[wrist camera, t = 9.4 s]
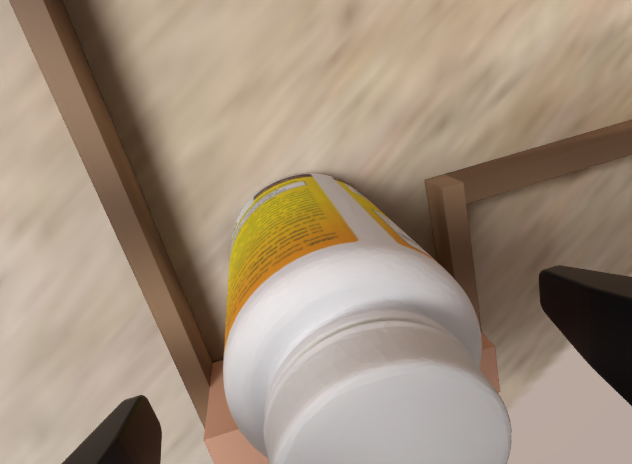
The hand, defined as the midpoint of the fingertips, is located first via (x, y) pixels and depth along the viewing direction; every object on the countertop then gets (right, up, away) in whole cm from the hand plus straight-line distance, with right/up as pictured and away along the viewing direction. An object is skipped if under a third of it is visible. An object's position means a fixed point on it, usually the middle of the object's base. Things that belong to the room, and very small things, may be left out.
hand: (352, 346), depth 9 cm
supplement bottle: (-1, +2, +7) cm, 8 cm away
